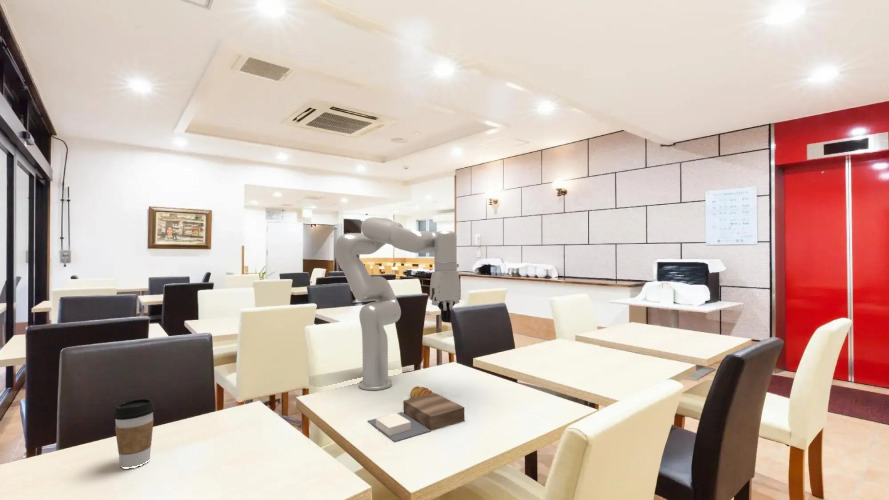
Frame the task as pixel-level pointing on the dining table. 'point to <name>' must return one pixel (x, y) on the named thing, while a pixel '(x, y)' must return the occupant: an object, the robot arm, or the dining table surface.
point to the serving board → (433, 411)
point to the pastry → (420, 392)
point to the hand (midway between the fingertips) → (445, 321)
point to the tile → (393, 424)
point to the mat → (415, 430)
